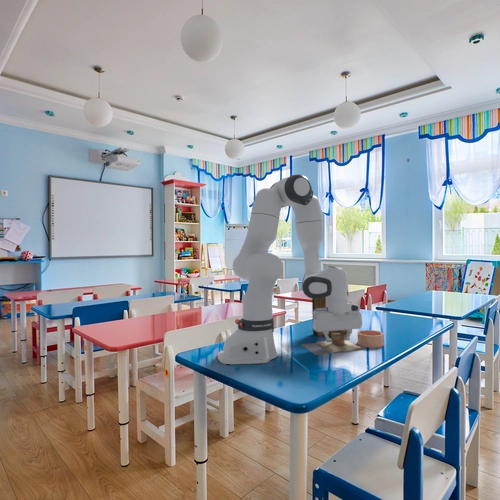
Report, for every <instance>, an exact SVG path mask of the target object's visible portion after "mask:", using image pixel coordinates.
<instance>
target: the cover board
mask: <svg viewBox="0 0 500 500" xmlns="http://www.w3.org/2000/svg"><path fill="white" fill-rule="evenodd" d="M331 334H332V336H331V342H326V340H321V341H316V342H315V343H316V344H318V345H319V346H321V347H322V348H324V349H326V350H327V351H329V352H331V353H332V352H342V351H352V350H361V349H363V348H362V347H363V346H360V345H358V344H355V343H353V342H352V341H351V340H349V341H346V340H344V336H345V334H344V335H342V334H340V333H331ZM361 351H362V350H361ZM352 352H353V351H352ZM342 353H343V352H342ZM332 354H333V353H332Z"/></svg>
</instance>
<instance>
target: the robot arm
mask: <svg viewBox="0 0 500 500" xmlns="http://www.w3.org/2000/svg"><path fill="white" fill-rule="evenodd" d="M312 188H313V187H312V185H311V181H310V180H309V178H308V177H307V176H305V175H303V174H292V175H290V176H287V177H285V178H281V179H280V180H278V181H277V182H274V183H273V184H272V185H271V187H266V188H262V189H260V190H258V191H257V193H256V194H255V195H256V196H255V198H254V201H253V204H252V207H251V212H250V217H249V222H248V227H247V228H248V229H247V233H246V236H245V238H244V241H243V244H242V246H241V249H240V250H239V253H238V254H237V256H236V257H235V258H234V259H233V262H232V270H233V272H234V274H235V275H236V276H237V277H239V278H241V279H242V280H245V281H248V284H247V289H246V292H245V294H244V295H243V297H242V318H241V319H240V318H235V319H234V322H235V324H236V325H237V329H236V330H235V331H234V332H233V333H231V334H230V335H228V337H226V339H224V342H223V347H222V350H220V351H218V353H217V360H218V361H219V363H221V364H223V365H226V364H230V365H252V364H253V365H255V364H268V363H269V362H270V361H271V360H273V359H275V358H277V357H278V352H277V348H276V343H275V338H274V332H275V321H274V317H273V294H274V290H275V286H276V283H277V281H278V279H280V277H281V276H282V274H283V271H284V265H283V261H282V260H281V258H280V257H279V256H278V255H276V254H273V253H270V252H268V251H269V249H270V247H271V246H272V244H273V243H274V242H275V241H276V239H277V235H278V228H279V223H280V216H281V215H280V214H281V210H282V209H283V208H286V207H291V208H292V210H293V211H294V222H295V230H296V235H297V239H298V241H299V244H300V246H301V248H302V252H303V258H304V259H303V260H304V276H303V278H302V282H301V287H302V288H301V289H302V291H303V294H304V295H305V296H306V297H307V298H309V299H311V300H312V299H318V298H323V297H326V307H325V308H316V309H315V310H314V311H313V315H312V330H313V329H314V330H315V331H316V332H323V334H324V335H325V336H324V337H325V341H326V342H331V340H332V337H331V336H328V335H327V334H329V331H338V330H347V331H348V332H347V334H344V340H346V341H351V340H350V339H351V335H352V333H353V330H359V329H360V330H361V329H362V327H363V318H362V317H363V316H362V312H361V311H360V310H361V306H360V305H359V304H355V303H352V302H349V295H348V296H347V291H348V292H349V279H348V272H347V270H346V269H345V268H343V267H340V266H334V265H329V266H326V267H325V268H324V269H322V270H321V269H320V268H321V266H320V253H319V252H320V251H319V250H320V246H321V243H322V242H323V241H322V240H323V237H324V218H323V212H322V208H321V207H322V206H321V203H320V200H319V198H318V196H315V195H314V191H313V189H312ZM316 310H317V311H316ZM320 310H321V311H320Z"/></svg>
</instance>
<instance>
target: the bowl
mask: <svg viewBox="0 0 500 500" xmlns="http://www.w3.org/2000/svg"><path fill="white" fill-rule="evenodd" d="M356 333H357V345H358V346H360V347H364V348H373V349H375V348H377V349H378V348H382V347H384V346H385V333H384V332H382V331H380V330H375V329H374V330H373V329H362V330H361V329H360V330H359V331H357V332H356Z"/></svg>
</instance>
